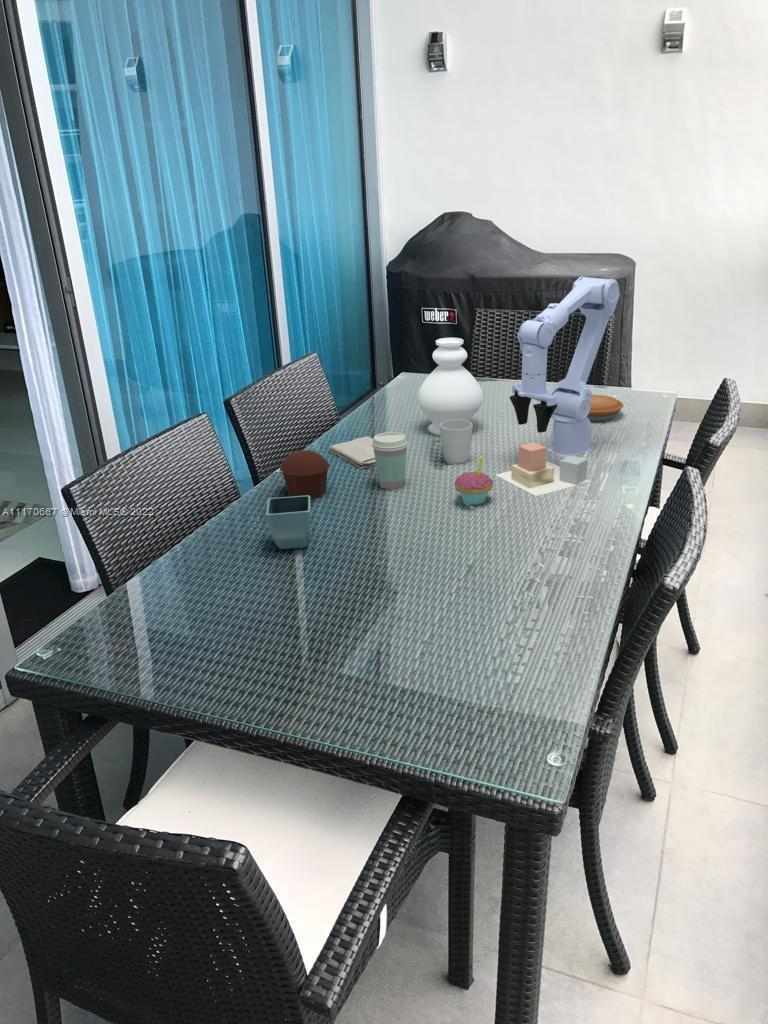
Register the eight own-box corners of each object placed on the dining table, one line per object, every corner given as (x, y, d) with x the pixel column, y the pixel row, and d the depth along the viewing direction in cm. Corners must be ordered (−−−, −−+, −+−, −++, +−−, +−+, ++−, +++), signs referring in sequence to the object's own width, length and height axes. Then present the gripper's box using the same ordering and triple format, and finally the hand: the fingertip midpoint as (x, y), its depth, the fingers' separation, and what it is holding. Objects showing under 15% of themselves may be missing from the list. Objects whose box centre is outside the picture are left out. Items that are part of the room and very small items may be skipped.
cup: (472, 456, 225) (472, 419, 220) (472, 467, 217) (472, 429, 213) (441, 456, 225) (440, 419, 221) (439, 467, 218) (439, 429, 214)
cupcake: (496, 497, 199) (496, 447, 195) (487, 511, 192) (488, 460, 187) (459, 493, 202) (459, 444, 197) (450, 508, 195) (449, 457, 190)
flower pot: (271, 536, 185) (267, 497, 182) (313, 533, 186) (310, 494, 182) (270, 554, 177) (265, 514, 173) (313, 551, 178) (310, 511, 174)
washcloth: (362, 472, 219) (361, 460, 218) (327, 453, 233) (326, 442, 232) (401, 462, 225) (401, 450, 223) (365, 444, 239) (364, 433, 237)
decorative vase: (485, 438, 237) (485, 347, 227) (419, 440, 238) (417, 349, 228) (479, 418, 253) (480, 332, 243) (418, 420, 254) (416, 334, 244)
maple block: (535, 473, 210) (535, 459, 209) (553, 481, 205) (554, 467, 203) (511, 479, 207) (511, 465, 206) (529, 488, 202) (529, 474, 200)
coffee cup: (415, 480, 211) (413, 433, 206) (400, 493, 204) (398, 444, 199) (383, 476, 214) (380, 429, 210) (367, 488, 207) (365, 440, 203)
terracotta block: (533, 462, 207) (534, 442, 205) (545, 467, 204) (546, 447, 202) (518, 466, 205) (518, 446, 203) (530, 471, 202) (530, 451, 200)
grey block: (569, 474, 208) (570, 455, 206) (586, 478, 206) (587, 459, 204) (559, 480, 205) (560, 460, 203) (576, 484, 203) (577, 464, 201)
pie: (567, 424, 245) (568, 407, 243) (566, 408, 259) (567, 391, 257) (624, 425, 243) (625, 407, 241) (620, 408, 257) (621, 392, 255)
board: (548, 463, 218) (548, 461, 217) (591, 483, 205) (591, 481, 204) (495, 477, 211) (495, 474, 211) (536, 498, 198) (536, 496, 198)
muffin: (273, 499, 204) (269, 458, 200) (294, 482, 213) (291, 443, 209) (320, 504, 200) (317, 463, 196) (339, 486, 209) (336, 447, 205)
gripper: (502, 368, 210) (500, 423, 215) (539, 381, 198) (537, 438, 203) (525, 364, 213) (524, 418, 218) (564, 376, 201) (561, 433, 206)
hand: (532, 427), depth 211 cm, fingers open, 7 cm apart
